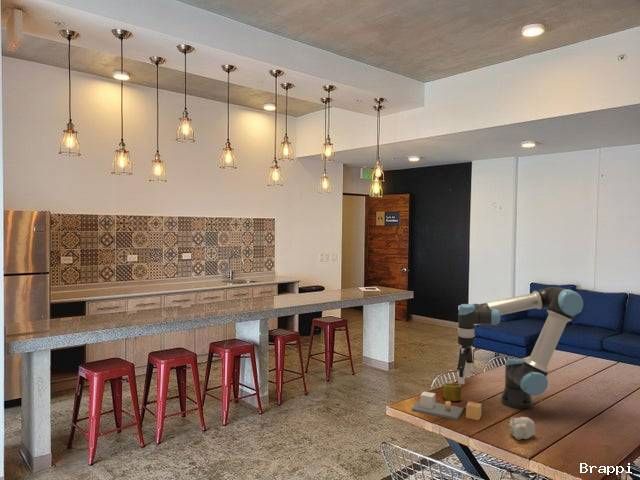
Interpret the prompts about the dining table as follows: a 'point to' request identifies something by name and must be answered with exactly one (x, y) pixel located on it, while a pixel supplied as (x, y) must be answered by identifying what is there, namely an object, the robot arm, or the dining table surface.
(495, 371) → the dining table surface
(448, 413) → the board
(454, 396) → the mug
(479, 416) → the light orange cube
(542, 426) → the dining table surface
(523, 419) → the white lumpy piece
